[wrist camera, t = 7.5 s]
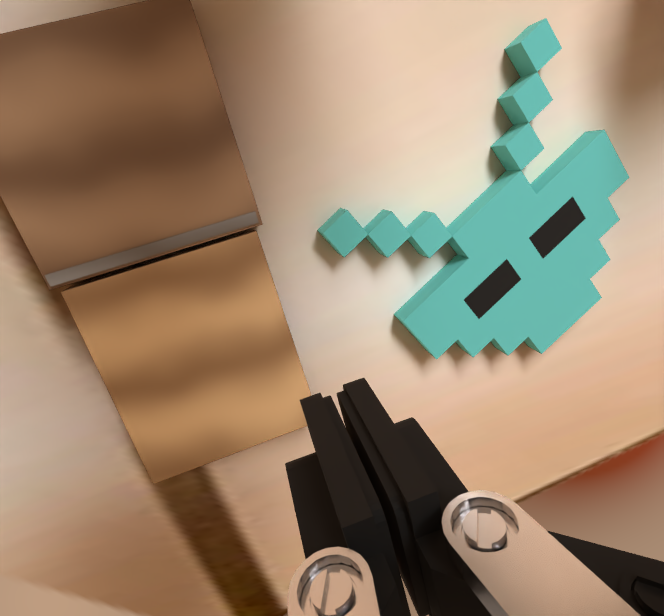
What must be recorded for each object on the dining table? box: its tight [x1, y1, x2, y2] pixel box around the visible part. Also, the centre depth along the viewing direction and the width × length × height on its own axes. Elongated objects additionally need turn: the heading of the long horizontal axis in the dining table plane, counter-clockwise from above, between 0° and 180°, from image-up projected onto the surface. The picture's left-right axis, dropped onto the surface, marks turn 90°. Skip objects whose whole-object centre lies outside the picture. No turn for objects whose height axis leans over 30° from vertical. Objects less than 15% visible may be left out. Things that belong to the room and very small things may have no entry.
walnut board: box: [0, 0, 262, 290], centre depth 26 cm, size 13×13×2 cm
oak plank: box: [61, 230, 311, 484], centre depth 30 cm, size 14×12×2 cm
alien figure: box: [317, 18, 629, 359], centre depth 34 cm, size 20×2×20 cm
